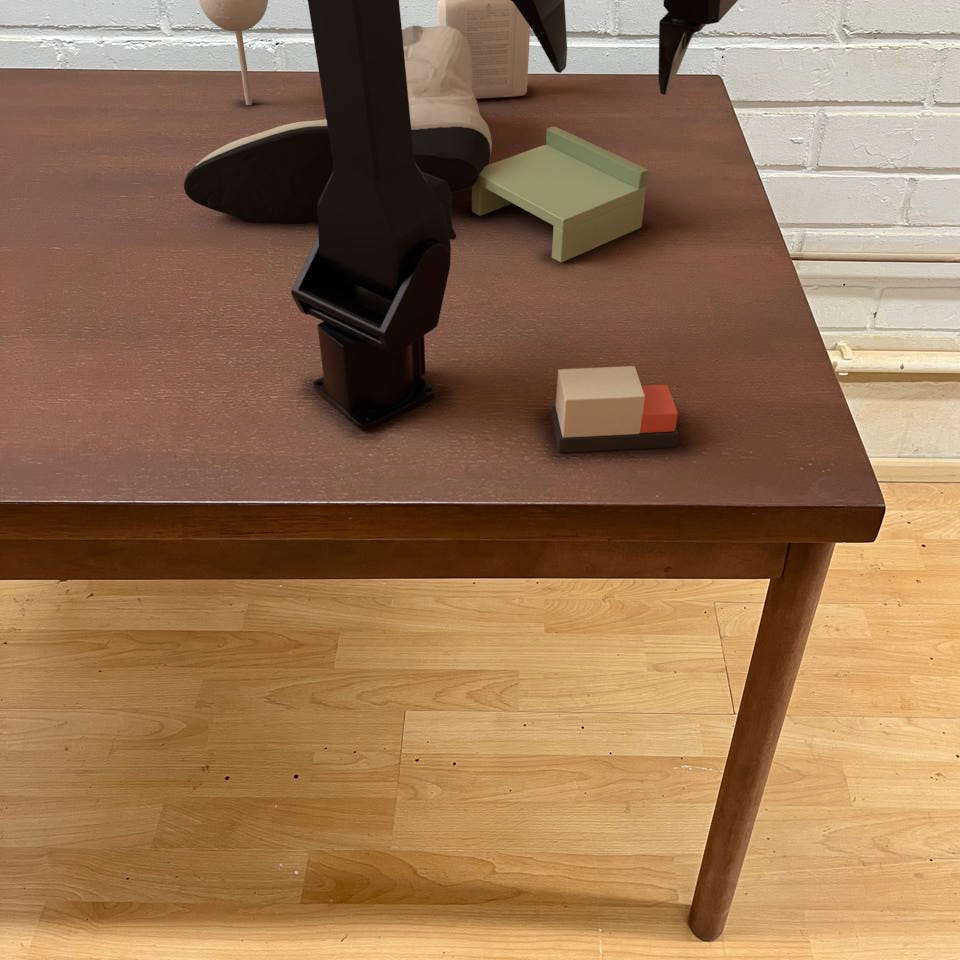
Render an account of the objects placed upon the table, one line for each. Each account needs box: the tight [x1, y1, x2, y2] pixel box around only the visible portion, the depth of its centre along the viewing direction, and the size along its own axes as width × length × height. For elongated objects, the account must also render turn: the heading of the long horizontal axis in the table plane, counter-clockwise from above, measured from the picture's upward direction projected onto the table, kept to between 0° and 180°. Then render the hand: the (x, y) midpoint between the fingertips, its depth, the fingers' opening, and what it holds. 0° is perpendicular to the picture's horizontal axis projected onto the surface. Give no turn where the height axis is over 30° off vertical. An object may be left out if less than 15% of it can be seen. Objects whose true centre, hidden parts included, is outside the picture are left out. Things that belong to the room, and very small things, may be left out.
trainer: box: [550, 365, 679, 454], centre depth 67 cm, size 8×4×4 cm, turn 95°
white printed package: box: [437, 0, 531, 100], centre depth 110 cm, size 10×4×12 cm, turn 102°
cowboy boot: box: [183, 25, 493, 225], centre depth 96 cm, size 10×28×25 cm
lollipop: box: [198, 0, 269, 106], centre depth 106 cm, size 7×7×15 cm
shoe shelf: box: [471, 125, 650, 263], centre depth 90 cm, size 10×12×6 cm
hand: (612, 80), depth 80 cm, fingers open, 9 cm apart
